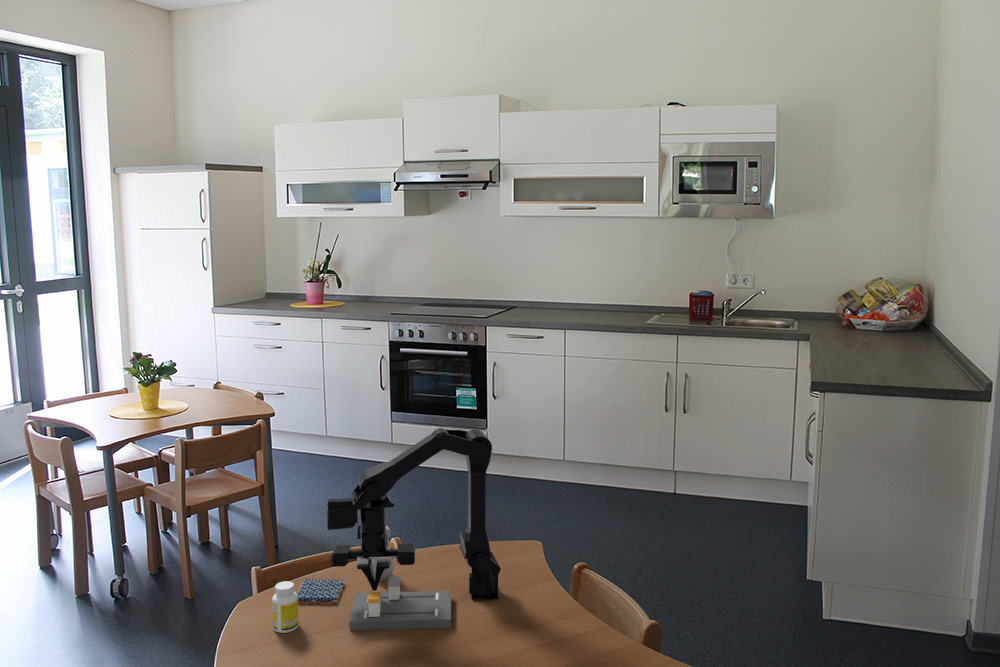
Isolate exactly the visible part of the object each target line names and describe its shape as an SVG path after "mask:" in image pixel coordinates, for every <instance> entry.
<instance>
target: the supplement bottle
mask: <svg viewBox="0 0 1000 667" xmlns="http://www.w3.org/2000/svg"><path fill="white" fill-rule="evenodd" d="M274 593H275V594H274V595H273V596H272V598H271V599H272V600H271V604H272V608H271V609H272V625H273V630H274V631H275V632H277V633H279V634H280V633H282V634H283V633H284V634H287V633H291V632H293V631H295V630H296V629H298V628H299V625H300V624H299V621H300V620H299V603H298V602H299V601H298V596H297V595H298V593H297V592H296V591H295V584H294V582H292V581H288V580H285V581H279V582H277V583H276V584H275V586H274Z"/></svg>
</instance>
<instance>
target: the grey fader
mask: <svg viewBox="0 0 1000 667" xmlns="http://www.w3.org/2000/svg"><path fill="white" fill-rule="evenodd" d="M387 587H388V592H389V600H399V598H400V592H401V575H391V576H389V579H387Z"/></svg>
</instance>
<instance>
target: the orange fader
mask: <svg viewBox="0 0 1000 667" xmlns="http://www.w3.org/2000/svg"><path fill="white" fill-rule="evenodd" d="M381 592H382V591H369V592H368V593H369V596H368V609H369V617H380V612H381Z"/></svg>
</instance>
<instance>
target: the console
mask: <svg viewBox="0 0 1000 667" xmlns="http://www.w3.org/2000/svg"><path fill="white" fill-rule="evenodd" d="M380 592H381V612H380V617H369V609H368V596H369V592H356V593H355V598H354V601H353V604H352V605H353V606H352V610H351V614H350V618H349V622H348V623H349V626H348V627H349V631H372V630H374V631H376V630H408V629H410V630H413V629H414V630H415V629H450V628H452V590H431V591H430V590H429V591H428V590H427V591H423V590H422V591H400V598H399V600H389V591H388V592H387V591H385V592H383V591H380Z"/></svg>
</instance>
